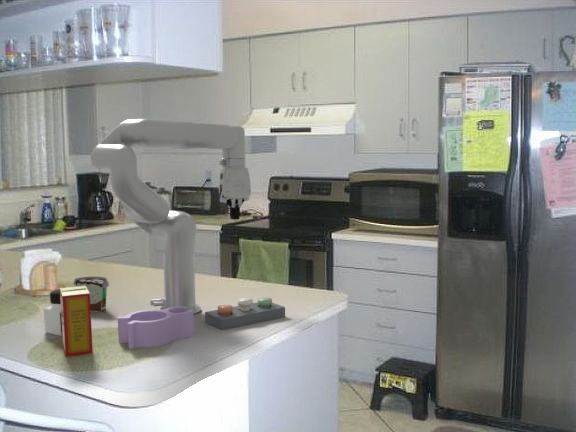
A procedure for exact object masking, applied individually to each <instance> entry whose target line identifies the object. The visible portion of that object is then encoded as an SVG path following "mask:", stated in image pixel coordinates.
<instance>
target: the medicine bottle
mask: <svg viewBox="0 0 576 432" xmlns="http://www.w3.org/2000/svg"><path fill="white" fill-rule="evenodd" d="M49 301H50V306H47V307H44V308H43V320H44V332H45V333H46V334H50V335H54V336H59V337H62V321H61V303H60V288H58V289H54V290H52V291H51V292H50V293H49Z"/></svg>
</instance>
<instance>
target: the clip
mask: <svg viewBox="0 0 576 432" xmlns="http://www.w3.org/2000/svg"><path fill="white" fill-rule="evenodd" d="M194 315H195V314H194V310H193V309H189V310H188V311H187V307H185V306H178V307H170V308H167V309H162V310H160V309H147V310H146V309H144V310H143V309H142V310H138V311H134V312H133V311H132V312H130V313H128V314H126V315H125V316H118V317H117V332H118V337H117V338H118V343H119V344H123V343H124V344H128V349H129V350H133V349H134V350H135V348H154V347H160V346H165V345H166V344H169V343H171V342H172V341H174V340H177V339H178V340H179V339H185V338H189V337H192V336H194V335H195V316H194Z"/></svg>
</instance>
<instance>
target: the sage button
mask: <svg viewBox="0 0 576 432" xmlns="http://www.w3.org/2000/svg"><path fill="white" fill-rule="evenodd" d="M257 302H258V305H260V307H262V308H266V307H269V305H272V303H273V299H272V298H271V297H259V298H258V299H257Z"/></svg>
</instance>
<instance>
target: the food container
mask: <svg viewBox="0 0 576 432" xmlns="http://www.w3.org/2000/svg"><path fill="white" fill-rule="evenodd" d="M73 285H74V287H77V286H86V287H87V289H88V291H89V293H90V309H91V313H92V312H94V313H101V314H102V313H104V312H105V311H106V310H107V291H108V287H109V286H110V283H109V280H108V278H107V277H104V276H97V275H96V276H93V275H92V276H82V277H77V278H74V281H73Z"/></svg>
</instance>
